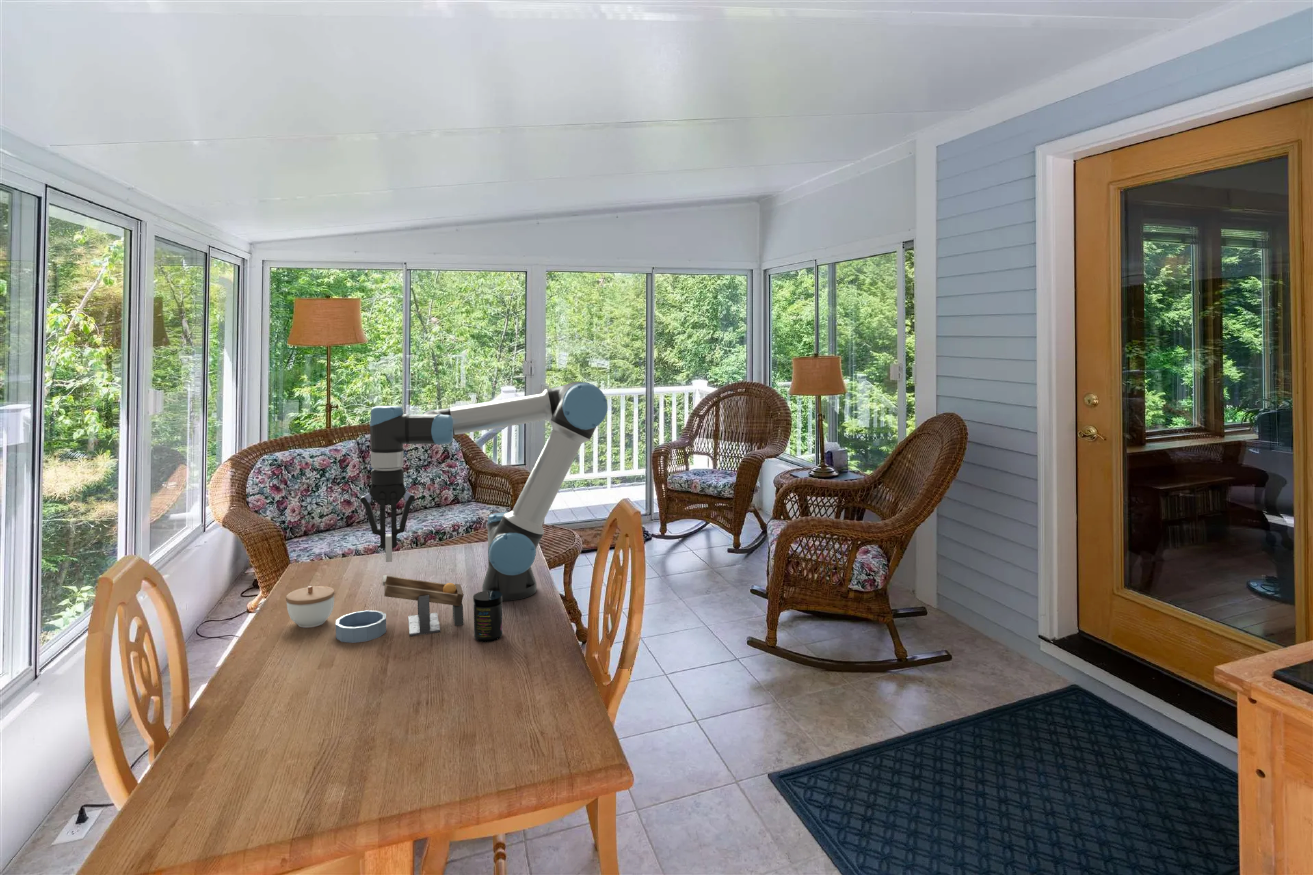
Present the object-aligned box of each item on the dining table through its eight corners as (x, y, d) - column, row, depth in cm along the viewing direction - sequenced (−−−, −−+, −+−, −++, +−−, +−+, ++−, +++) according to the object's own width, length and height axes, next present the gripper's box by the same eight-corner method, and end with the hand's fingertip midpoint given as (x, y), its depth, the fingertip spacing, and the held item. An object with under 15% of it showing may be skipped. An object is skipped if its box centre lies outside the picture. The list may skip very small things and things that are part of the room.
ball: (453, 594, 169) (457, 582, 169) (454, 598, 166) (458, 586, 166) (440, 591, 168) (445, 579, 168) (441, 595, 165) (446, 583, 165)
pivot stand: (437, 614, 172) (436, 580, 171) (440, 632, 161) (439, 595, 160) (408, 618, 170) (407, 583, 169) (409, 636, 159) (408, 599, 158)
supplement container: (503, 641, 157) (502, 599, 155) (473, 644, 155) (473, 601, 154) (502, 630, 163) (501, 589, 162) (473, 633, 161) (473, 591, 160)
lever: (455, 588, 177) (458, 577, 177) (460, 606, 165) (463, 594, 165) (382, 578, 170) (385, 567, 170) (382, 596, 157) (385, 583, 157)
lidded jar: (315, 633, 160) (313, 595, 159) (277, 629, 162) (275, 592, 161) (344, 616, 170) (343, 581, 169) (308, 613, 172) (306, 578, 171)
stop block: (460, 615, 172) (460, 598, 171) (463, 624, 166) (463, 605, 166) (452, 616, 171) (452, 598, 171) (455, 625, 166) (454, 606, 165)
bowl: (386, 621, 168) (385, 608, 167) (386, 638, 157) (385, 624, 157) (338, 627, 163) (337, 613, 163) (334, 645, 153) (334, 630, 153)
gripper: (414, 465, 171) (415, 554, 174) (359, 466, 166) (361, 558, 169) (415, 469, 164) (416, 562, 167) (358, 471, 159) (360, 566, 162)
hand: (388, 560), depth 168 cm, fingers closed
